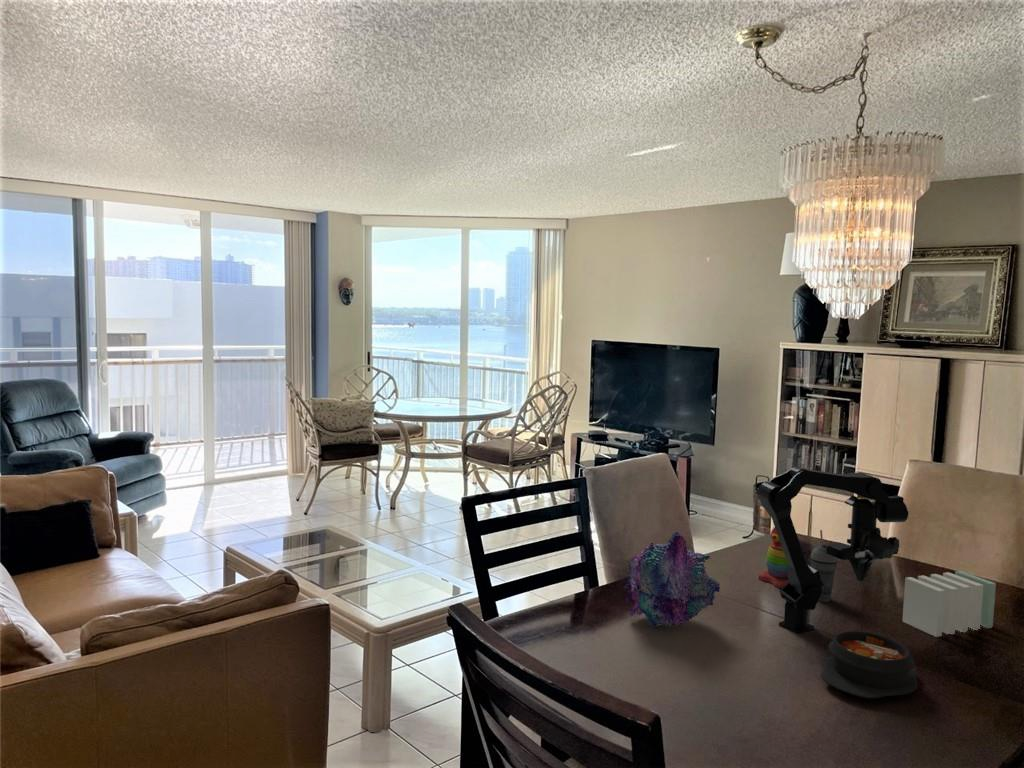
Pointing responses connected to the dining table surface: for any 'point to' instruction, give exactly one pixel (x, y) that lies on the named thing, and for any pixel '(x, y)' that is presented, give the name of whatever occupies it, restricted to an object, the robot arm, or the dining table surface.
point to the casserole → (869, 665)
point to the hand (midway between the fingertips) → (860, 580)
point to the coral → (669, 583)
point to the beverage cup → (824, 568)
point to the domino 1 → (923, 606)
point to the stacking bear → (775, 563)
